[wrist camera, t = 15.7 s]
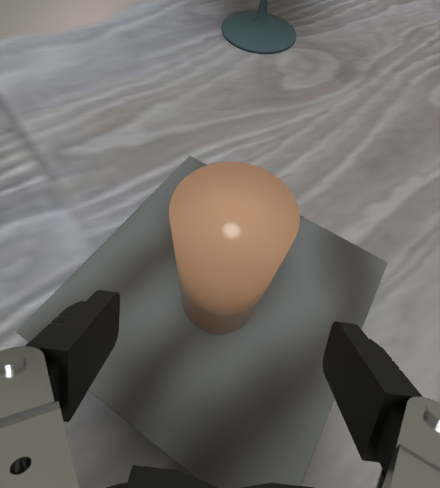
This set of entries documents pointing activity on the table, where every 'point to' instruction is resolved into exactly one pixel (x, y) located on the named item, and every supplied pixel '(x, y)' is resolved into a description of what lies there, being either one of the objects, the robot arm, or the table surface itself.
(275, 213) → the tan dome-topped cylinder
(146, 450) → the table surface
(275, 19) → the cocktail glass
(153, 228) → the charcoal board
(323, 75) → the table surface
